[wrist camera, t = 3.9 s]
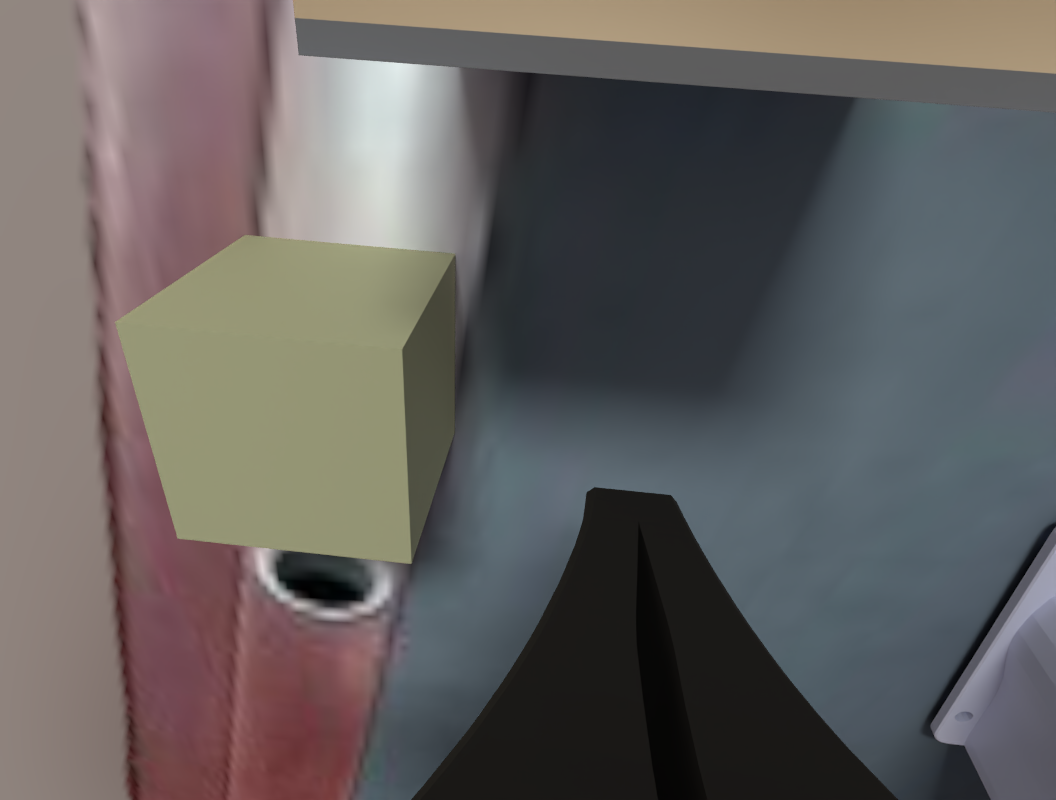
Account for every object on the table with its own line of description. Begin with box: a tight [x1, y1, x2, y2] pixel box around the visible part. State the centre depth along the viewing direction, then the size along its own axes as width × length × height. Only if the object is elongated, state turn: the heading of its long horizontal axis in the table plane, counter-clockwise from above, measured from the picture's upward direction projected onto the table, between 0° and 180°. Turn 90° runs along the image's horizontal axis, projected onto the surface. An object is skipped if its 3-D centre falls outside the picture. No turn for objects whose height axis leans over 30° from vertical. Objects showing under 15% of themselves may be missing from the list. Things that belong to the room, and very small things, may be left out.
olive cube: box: [115, 235, 455, 564], centre depth 15 cm, size 5×5×5 cm
